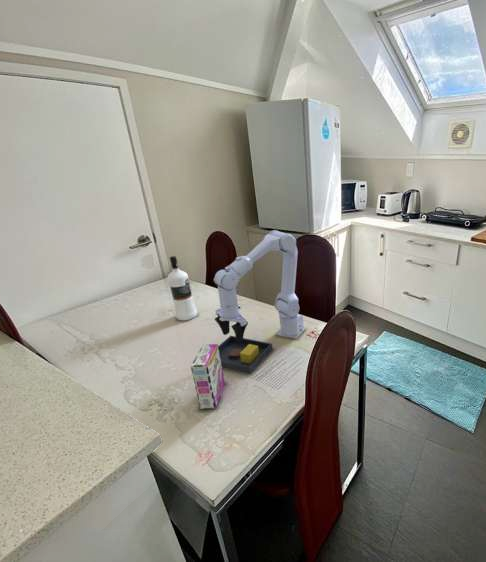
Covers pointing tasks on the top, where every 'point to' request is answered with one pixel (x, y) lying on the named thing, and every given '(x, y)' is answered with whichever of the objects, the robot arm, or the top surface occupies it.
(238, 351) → the scrap
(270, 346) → the dark grey tray
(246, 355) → the sponge
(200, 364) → the candy bar box
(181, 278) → the vodka
